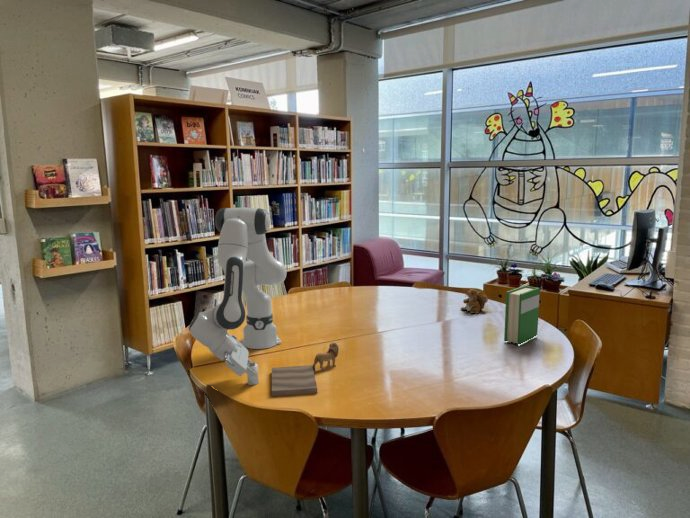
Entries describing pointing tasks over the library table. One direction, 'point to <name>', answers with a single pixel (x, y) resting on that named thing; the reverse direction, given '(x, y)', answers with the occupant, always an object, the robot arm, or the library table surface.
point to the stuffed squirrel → (474, 301)
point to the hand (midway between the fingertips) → (254, 371)
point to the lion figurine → (327, 356)
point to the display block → (293, 380)
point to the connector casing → (254, 379)
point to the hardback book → (521, 314)
